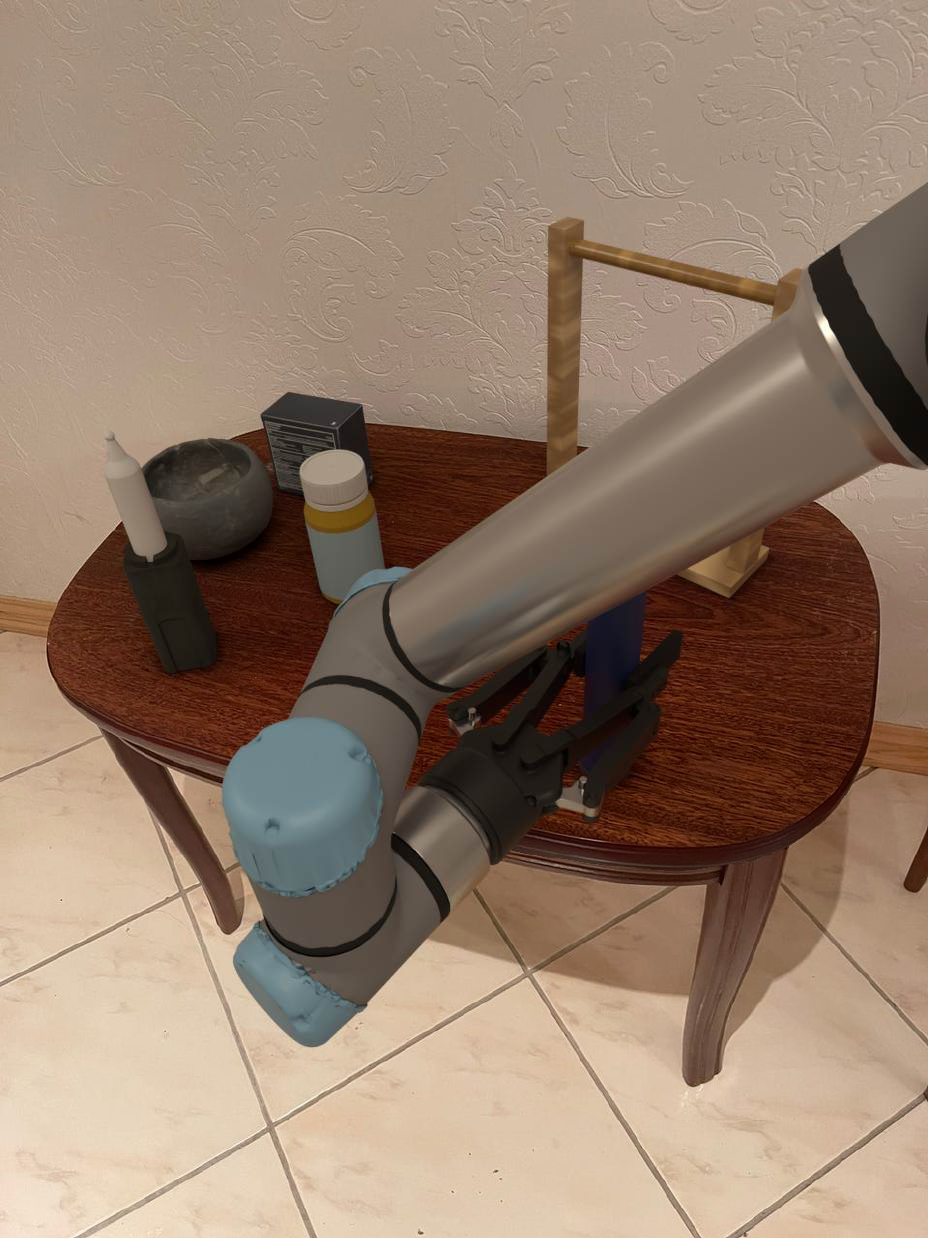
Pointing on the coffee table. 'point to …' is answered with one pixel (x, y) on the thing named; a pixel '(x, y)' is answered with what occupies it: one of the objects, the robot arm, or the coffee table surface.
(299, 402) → the small box
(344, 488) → the bottle
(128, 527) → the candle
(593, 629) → the umbrella
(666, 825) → the coffee table surface
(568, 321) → the rack
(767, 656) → the coffee table surface
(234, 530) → the bowl
